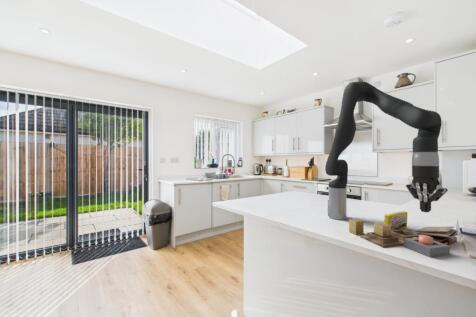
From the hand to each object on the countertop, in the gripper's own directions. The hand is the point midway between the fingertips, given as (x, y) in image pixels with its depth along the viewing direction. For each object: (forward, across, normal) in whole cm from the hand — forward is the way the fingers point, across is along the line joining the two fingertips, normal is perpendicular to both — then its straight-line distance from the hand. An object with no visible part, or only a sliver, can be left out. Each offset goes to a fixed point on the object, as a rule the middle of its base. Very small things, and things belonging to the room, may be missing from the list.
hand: (425, 211), depth 77 cm
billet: (+14, -21, -11) cm, 28 cm away
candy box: (+14, -20, +10) cm, 27 cm away
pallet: (+14, -11, -2) cm, 18 cm away
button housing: (+14, 0, 0) cm, 14 cm away
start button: (+13, 0, 0) cm, 13 cm away
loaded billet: (+14, -11, -7) cm, 19 cm away
